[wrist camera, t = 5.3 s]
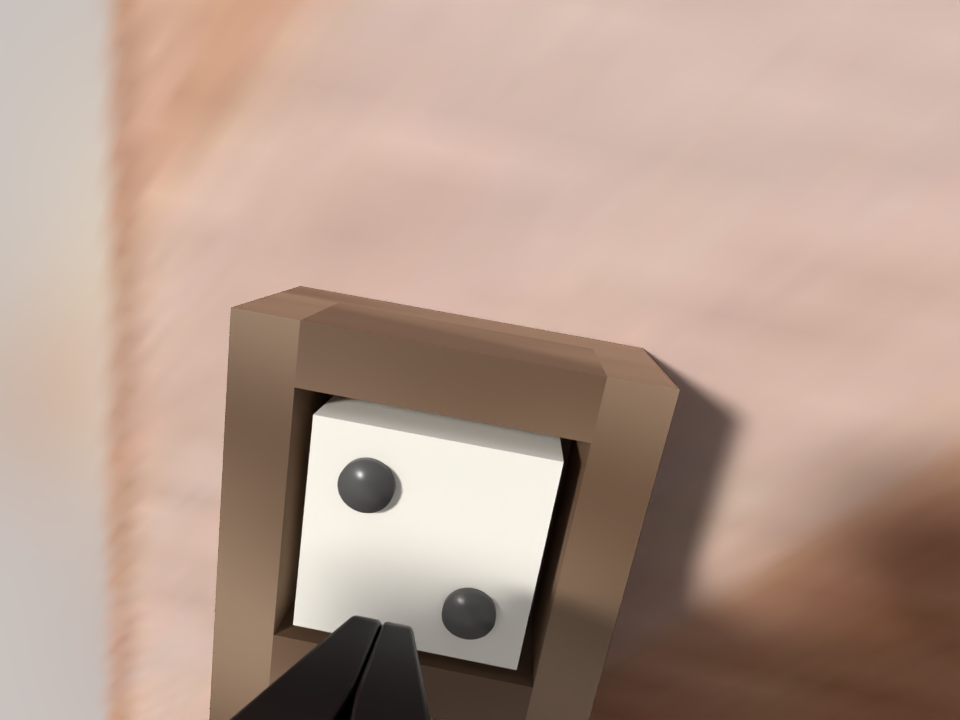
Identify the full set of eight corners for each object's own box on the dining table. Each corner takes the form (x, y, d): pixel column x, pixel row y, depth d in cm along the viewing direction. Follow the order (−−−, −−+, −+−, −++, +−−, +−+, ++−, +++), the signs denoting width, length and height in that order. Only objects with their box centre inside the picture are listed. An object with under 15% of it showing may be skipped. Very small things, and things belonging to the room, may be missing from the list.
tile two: (517, 600, 13) (516, 676, 11) (328, 562, 13) (289, 631, 11) (556, 420, 11) (563, 466, 9) (348, 381, 12) (310, 417, 10)
